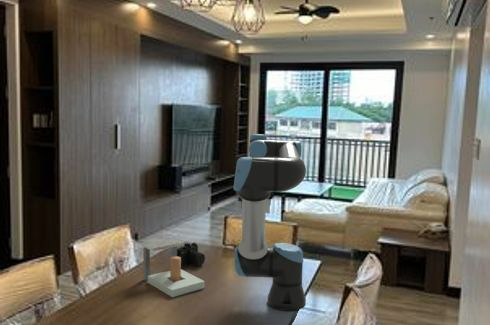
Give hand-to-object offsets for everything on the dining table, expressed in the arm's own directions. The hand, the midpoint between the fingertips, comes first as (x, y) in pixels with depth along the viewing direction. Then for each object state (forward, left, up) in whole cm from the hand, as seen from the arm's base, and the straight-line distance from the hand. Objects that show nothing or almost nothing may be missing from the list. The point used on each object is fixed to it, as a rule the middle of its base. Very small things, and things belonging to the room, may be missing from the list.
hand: (256, 214), depth 203 cm
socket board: (+12, +35, -29) cm, 47 cm away
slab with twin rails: (+22, +35, -29) cm, 50 cm away
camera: (+30, +15, -29) cm, 44 cm away
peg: (+12, +35, -29) cm, 47 cm away
